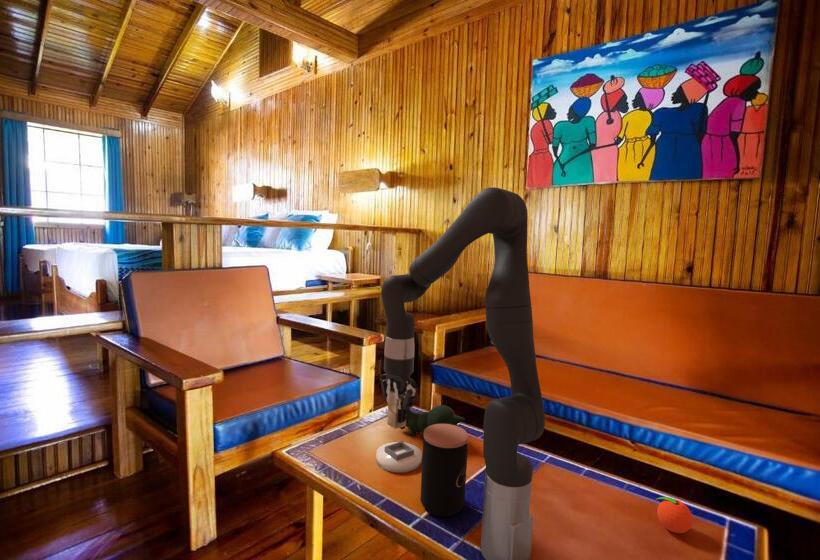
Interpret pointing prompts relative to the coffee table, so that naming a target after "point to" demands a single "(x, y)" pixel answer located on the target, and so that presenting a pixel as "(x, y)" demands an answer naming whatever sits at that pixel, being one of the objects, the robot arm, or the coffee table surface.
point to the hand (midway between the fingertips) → (396, 418)
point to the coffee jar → (444, 469)
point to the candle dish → (399, 457)
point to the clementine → (674, 515)
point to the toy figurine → (430, 418)
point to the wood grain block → (394, 411)
